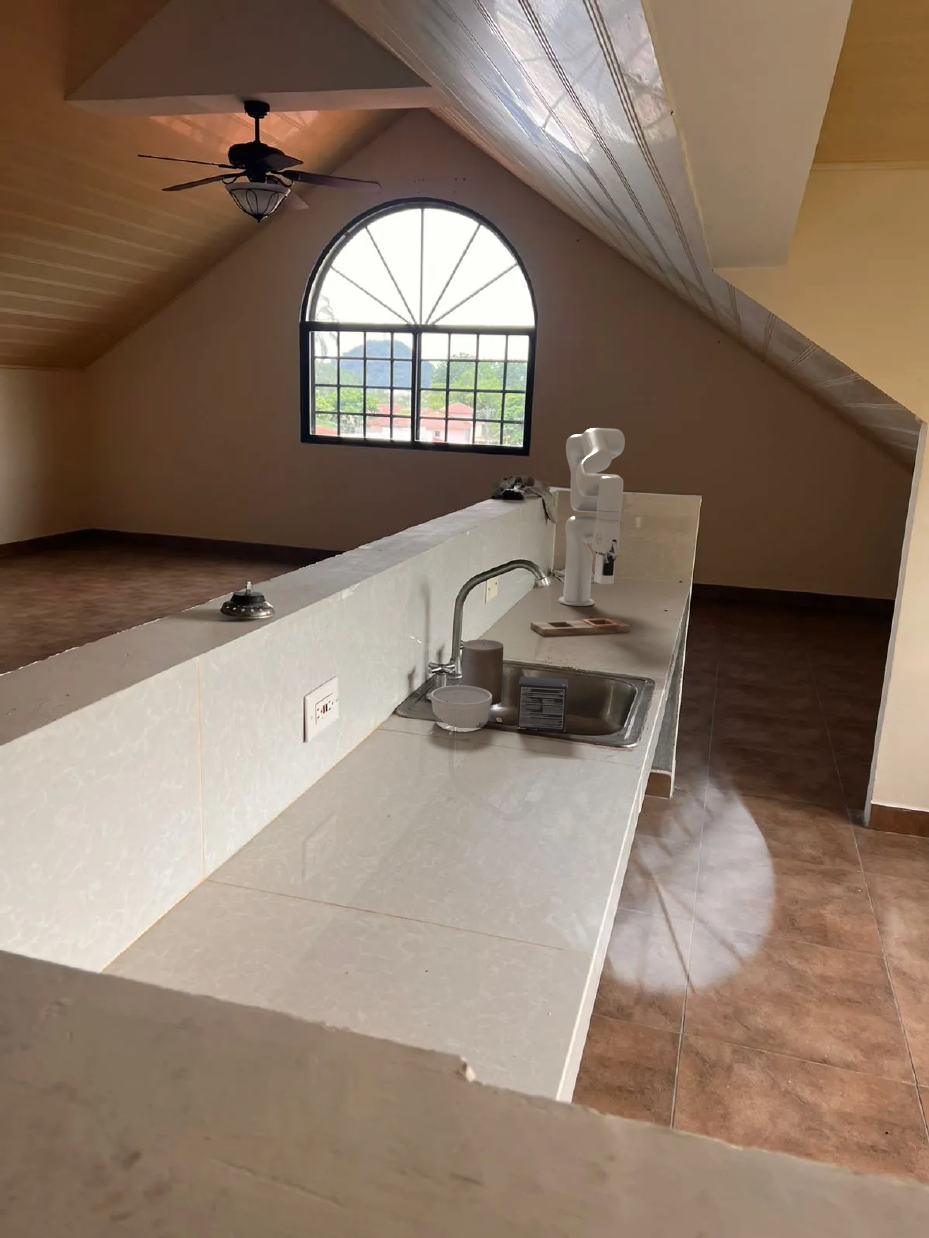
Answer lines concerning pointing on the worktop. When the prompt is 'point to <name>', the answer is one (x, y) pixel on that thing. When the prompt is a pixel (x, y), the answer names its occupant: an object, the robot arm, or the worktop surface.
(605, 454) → the robot arm
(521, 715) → the small box
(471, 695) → the ramekin
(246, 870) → the worktop surface
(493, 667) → the pillar candle
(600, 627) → the tan flat board
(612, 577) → the grey square block
